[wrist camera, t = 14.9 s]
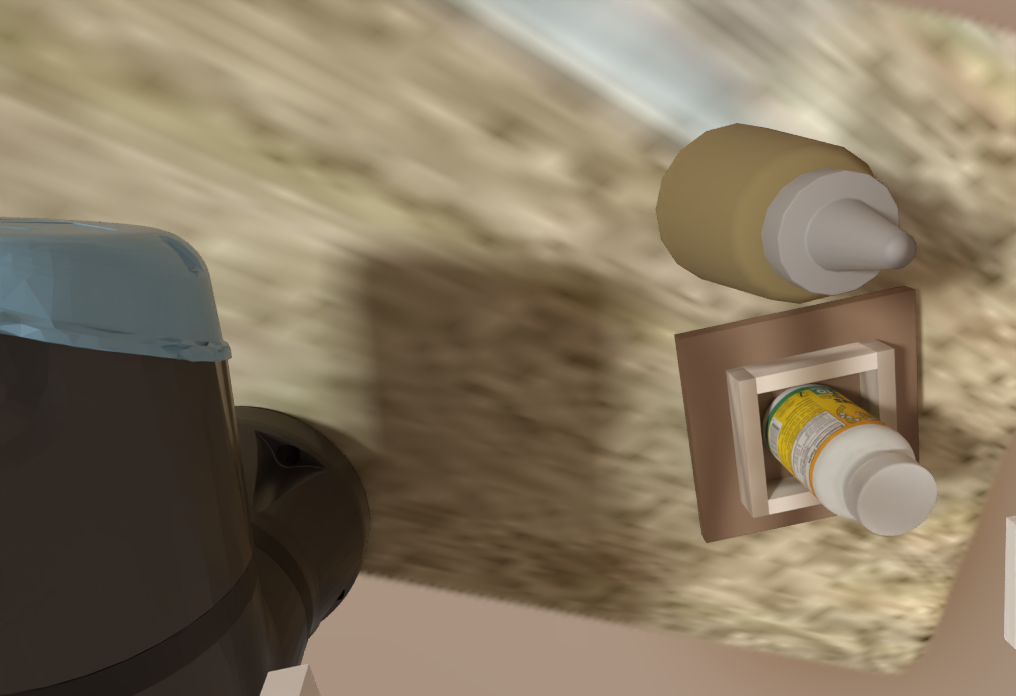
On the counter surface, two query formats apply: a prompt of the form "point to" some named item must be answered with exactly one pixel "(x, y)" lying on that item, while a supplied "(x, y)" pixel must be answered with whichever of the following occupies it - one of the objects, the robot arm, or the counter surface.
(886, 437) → the supplement bottle
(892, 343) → the collar holder
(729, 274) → the squeeze bottle
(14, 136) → the counter surface
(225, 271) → the counter surface
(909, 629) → the counter surface
